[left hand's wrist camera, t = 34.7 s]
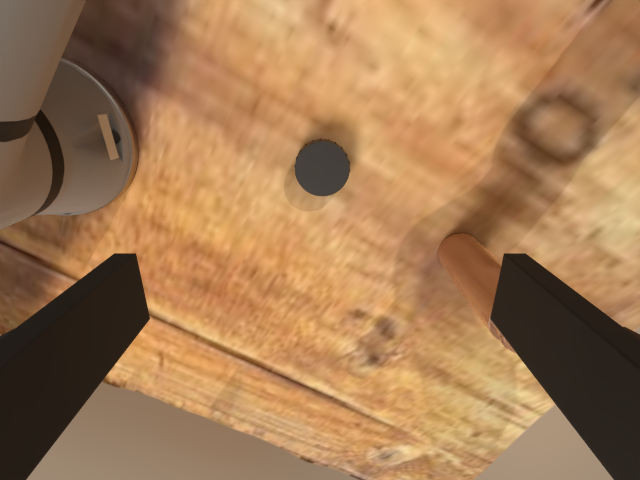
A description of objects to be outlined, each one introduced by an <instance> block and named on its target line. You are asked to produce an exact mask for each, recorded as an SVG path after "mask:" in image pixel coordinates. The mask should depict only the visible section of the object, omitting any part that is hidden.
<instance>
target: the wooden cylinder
mask: <svg viewBox="0 0 640 480" xmlns="http://www.w3.org/2000/svg"><path fill="white" fill-rule="evenodd" d="M438 260H439V262H440V263H441V265H442V266H443V268H444V269H445V270H446V272H447V273H448V274H449V276H450V277H451V279H452V280H453V281H454V283H455V284H456V285H457V287H458V288H459V290H460V291H461V292H462V294H463V295H464V296H465V298H466V299H467V301H468V302H469V303H470V305H471V306H472V307H473V309H474V310H475V312H476V313H477V314H478V316H479V317H480V318H481V320H482V321H483V323H484V324H485V325H486V327H487V328H488V329H489V331H490V332H491V334H492V335H493V336H494V337H495V338H497V339H498V340H500V341H501V342H502V344H503V345H504V346H505V347H506V348H507V349H509V350H510V351H512V352H515V351H514V349H513V348H512V347H511V345H510V344H509V343H508V341H507V340H506V339H505V338H504V336H503V335H502V334H501V332H500V331H499V330H498V328H497V327H496V326H495V325H494V323H493V322H492V321H491V319H490V317H491V312H492V308H493V303H494V298H495V294H496V289H497V284H498V280H499V275H500V270H501V266H502V263H501V262H500V261H499V260H498V259H497V258H495V257H494V256H493V255H492V254H491V253H490V252H489V251H488V250H487V249H486V248H484V247H483V246H482V245H481V244H480V243H479V242H478V241H477V240H476V239H475V238H473V237H472V236H471V235H468V234H465V233H457V234H453V235H451V236H449V237H447V238H446V239H445V240H444V241H443V242H442V243H441V245H440V246H439V249H438ZM515 353H516V352H515Z"/></svg>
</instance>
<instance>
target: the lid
mask: <svg viewBox="0 0 640 480" xmlns="http://www.w3.org/2000/svg"><path fill="white" fill-rule="evenodd" d="M349 163H350V162H349V160H348V158H347V154H346V153H345V152H344V151H343V148H342V147H340V146H339V145H338V144H336V142H333V141H330V140H329V139H328V140H325V139H320V140H315V141H313V140H312V142H310V143H308V144H306V145H305V146H304V147H303V149H302V150H300V153H299V155H298V156H297V158H296V164H295V175H296V178H297V180H298V182H299V184H300V185H301V186H302V188H303V189H304V190H306V191H307V192H309V193H311V194H313V195H316V196H328V195H331V194H334V193H336V192H337V191H339V190H340V189H341V188H342V187H343V186H344V185H345V183H346V181H347V179H348V176H349V171H350V167H349Z"/></svg>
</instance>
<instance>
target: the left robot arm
mask: <svg viewBox="0 0 640 480" xmlns="http://www.w3.org/2000/svg"><path fill="white" fill-rule="evenodd" d="M85 2H86V0H0V229H3V228H5V227H7V226H10V225H12V224H15V223H17V222H19V221H22V220H24V219H26V218H29V217H31V216H34V215H48V214H54V215H77V214H84V213H89V212H92V211H95V210H97V209H100V208H102V207H104V206H106V205H108V204H110V203H111V202H113V201H115V200H116V199H117V198H119V197H120V196H121V195H122V194H123V193H124V192H125V191H126V189H127V188H128V187H129V185H130V183H131V182H132V180H133V177H134V175H135V172H136V168H137V164H138V141H137V136H136V132H135V128H134V125H133V122H132V120H131V117H130V115H129V113H128V111H127V109H126V107H125V106H124V104H123V102H122V101H121V100H120V98H119V97H118V95H117V94H116V93H115V92H114V90H113V89H112V88H111V87H110V86H109V85H108V84H107V83H106V82H105V81H104V80H103V79H102V78H101V77H99V76H98V75H97V74H96V73H94V72H93V71H92V70H90V69H89V68H87V67H85V66H84V65H82V64H80V63H78V62H76V61H74V60H71V59H69V58H66V57H63V56H62V55H63V53H64V50H65V48H66V46H67V43H68V41H69V39H70V37H71V34H72V32H73V30H74V27H75V25H76V23H77V20H78V18H79V16H80V14H81V11H82V9H83V7H84V4H85ZM149 319H150V317H149V312H148V308H147V303H146V298H145V294H144V289H143V284H142V280H141V275H140V270H139V266H138V261H137V256H136V254H113V255H112V256H111V257H109V258H108V259H107V260H105V261H104V262H103V263H101V264H100V265H99V266H97V267H96V268H95V269H93V270H92V271H91V272H89V273H88V274H87V275H86V276H84V277H83V278H82V279H80V280H79V281H78V282H76V283H75V284H74V285H72V286H71V287H70V288H68V289H67V290H66V291H64V292H63V293H62V294H60V295H59V296H58V297H56V298H55V299H54V300H52V301H51V302H50V303H49V304H47V305H46V306H45V307H43V308H42V309H41V310H39V311H38V312H37V313H35V314H34V315H33V316H31V317H30V318H29V319H27V320H26V321H25V322H23V323H22V324H21V325H19V326H18V327H17V328H15V329H13V330H11V331H9V332H7V333H5V334H3V335H1V336H0V480H26V479H27V478H28V476H29V475H30V474H31V473H32V471H33V470H34V469H35V467H36V466H37V465H38V464H39V462H40V461H41V459H42V458H43V457H44V456H45V454H46V453H47V452H48V450H49V449H50V448H51V447H52V445H53V444H54V443H55V441H56V440H57V439H58V438H59V436H60V435H61V434H62V432H63V431H64V430H65V428H66V427H67V426H68V425H69V423H70V422H71V421H72V419H73V418H74V417H75V415H76V414H77V413H78V412H79V410H80V409H81V408H82V406H83V405H84V404H85V402H86V401H87V400H88V399H89V397H90V396H91V395H92V393H93V392H94V391H95V389H96V388H97V387H98V386H99V384H100V383H101V382H102V380H103V379H104V378H105V376H106V375H107V374H108V373H109V371H110V370H111V369H112V367H113V366H114V365H115V364H116V362H117V361H118V360H119V358H120V357H121V356H122V354H123V353H124V352H125V351H126V349H127V348H128V347H129V345H130V344H131V343H132V341H133V340H134V339H135V338H136V336H137V335H138V334H139V332H140V331H141V330H142V328H143V327H144V326H145V325H146V323H147V322H148V321H149ZM490 319H491V321H492V322H493V323H494V325H495V326H496V327H497V328H498V330H499V331H500V332H501V334H502V335H503V336H504V338H505V339H506V340H507V341H508V343H509V344H510V345H511V347H512V348H513V349H514V351H515V352H516V353H517V354H518V356H519V357H520V358H521V360H522V361H523V362H524V364H525V365H526V366H527V367H528V369H529V370H530V371H531V373H532V374H533V375H534V376H535V378H536V379H537V380H538V382H539V383H540V384H541V386H542V387H543V388H544V389H545V391H546V392H547V393H548V395H549V396H550V397H551V399H552V400H553V401H554V402H555V404H556V405H557V406H558V408H559V409H560V410H561V412H562V413H563V414H564V415H565V417H566V418H567V419H568V421H569V422H570V423H571V425H572V426H573V427H574V428H575V430H576V431H577V432H578V434H579V435H580V436H581V437H582V439H583V440H584V441H585V443H586V444H587V445H588V447H589V448H590V449H591V450H592V452H593V453H594V454H595V456H596V457H597V458H598V460H599V461H600V462H601V464H602V465H603V466H604V467H605V469H606V470H607V471H608V473H609V474H610V475H611V476H612V478H613V479H614V480H640V334H638V333H636V332H634V331H632V330H630V329H628V328H626V327H622V326H621V325H619V324H618V323H617V322H615V321H614V320H613V319H611V318H610V317H609V316H607V315H606V314H605V313H603V312H602V311H601V310H599V309H598V308H597V307H595V306H594V305H593V304H591V303H590V302H589V301H588V300H586V299H585V298H584V297H582V296H581V295H580V294H578V293H577V292H576V291H574V290H573V289H572V288H570V287H569V286H568V285H566V284H565V283H564V282H562V281H561V280H560V279H558V278H557V277H556V276H554V275H553V274H552V273H551V272H549V271H548V270H547V269H545V268H544V267H543V266H541V265H540V264H539V263H537V262H536V261H535V260H533V259H532V258H531V257H529V256H528V255H527V254H504V256H503V261H502V266H501V270H500V275H499V280H498V284H497V289H496V294H495V298H494V303H493V308H492V312H491V317H490Z"/></svg>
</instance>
